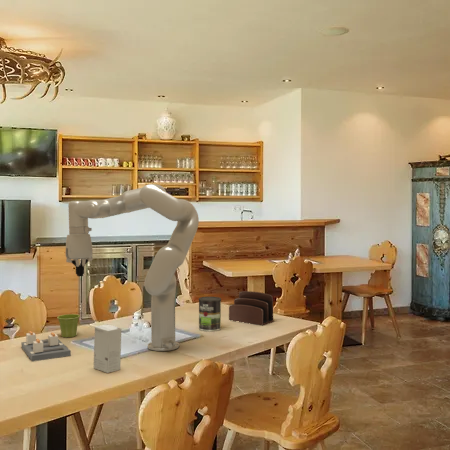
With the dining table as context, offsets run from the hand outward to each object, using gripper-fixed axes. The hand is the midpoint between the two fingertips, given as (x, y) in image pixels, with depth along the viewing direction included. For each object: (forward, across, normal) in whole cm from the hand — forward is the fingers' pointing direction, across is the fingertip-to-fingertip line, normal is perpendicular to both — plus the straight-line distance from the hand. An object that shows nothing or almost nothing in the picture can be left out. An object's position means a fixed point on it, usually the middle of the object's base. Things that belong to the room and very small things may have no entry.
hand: (80, 275), depth 217 cm
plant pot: (+28, +1, -16) cm, 32 cm away
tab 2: (+25, +20, +10) cm, 34 cm away
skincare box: (+29, +3, +38) cm, 48 cm away
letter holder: (+30, -82, +4) cm, 88 cm away
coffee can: (+29, -57, +6) cm, 65 cm away
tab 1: (+25, +19, -4) cm, 32 cm away
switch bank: (+28, +16, +3) cm, 32 cm away
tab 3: (+26, +12, +3) cm, 29 cm away
